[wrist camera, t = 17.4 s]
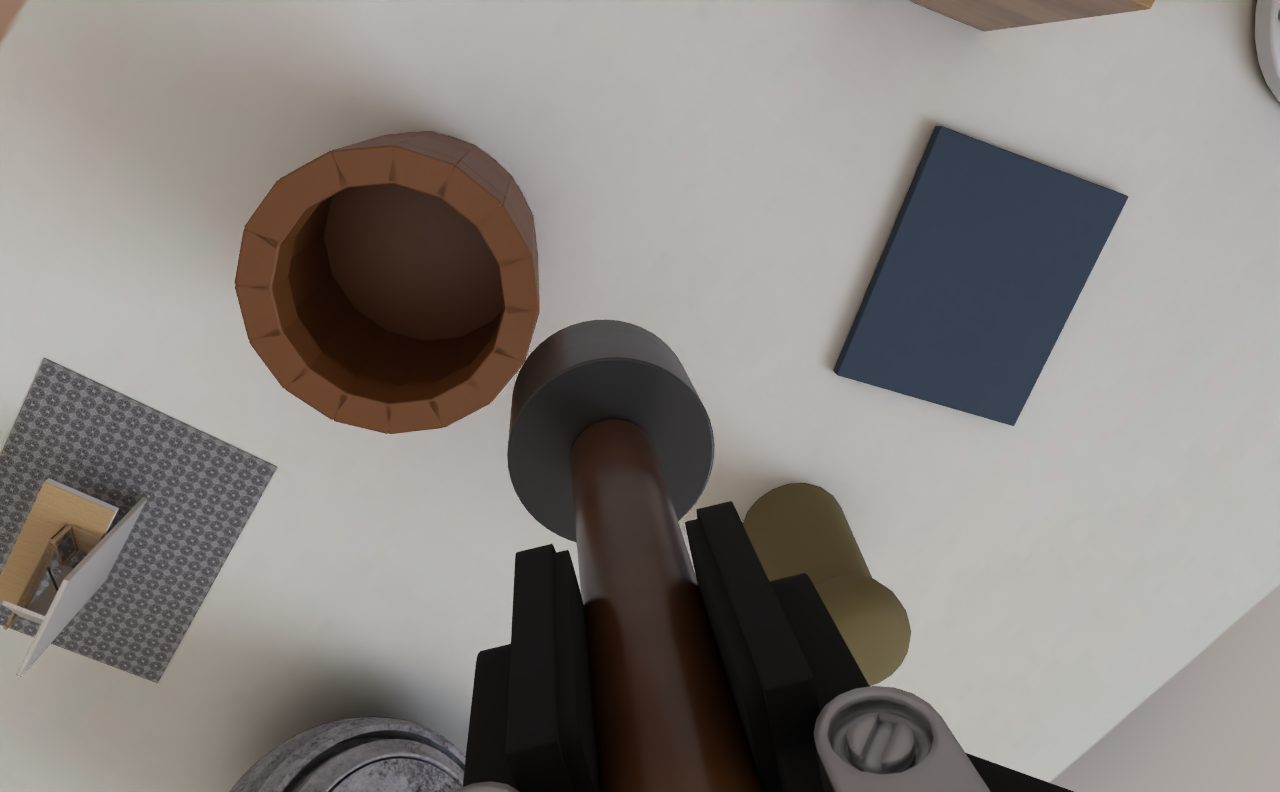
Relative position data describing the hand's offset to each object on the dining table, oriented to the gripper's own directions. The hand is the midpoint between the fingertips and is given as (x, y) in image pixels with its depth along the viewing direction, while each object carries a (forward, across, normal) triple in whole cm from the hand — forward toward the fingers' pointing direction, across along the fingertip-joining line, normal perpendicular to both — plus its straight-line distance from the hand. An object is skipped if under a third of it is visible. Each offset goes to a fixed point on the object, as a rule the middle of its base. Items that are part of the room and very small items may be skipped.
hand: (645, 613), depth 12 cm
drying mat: (+29, -20, +6) cm, 36 cm away
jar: (+29, +6, -2) cm, 30 cm away
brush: (+9, 0, 0) cm, 9 cm away
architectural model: (+29, +26, +9) cm, 40 cm away
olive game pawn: (+29, -9, +18) cm, 36 cm away
